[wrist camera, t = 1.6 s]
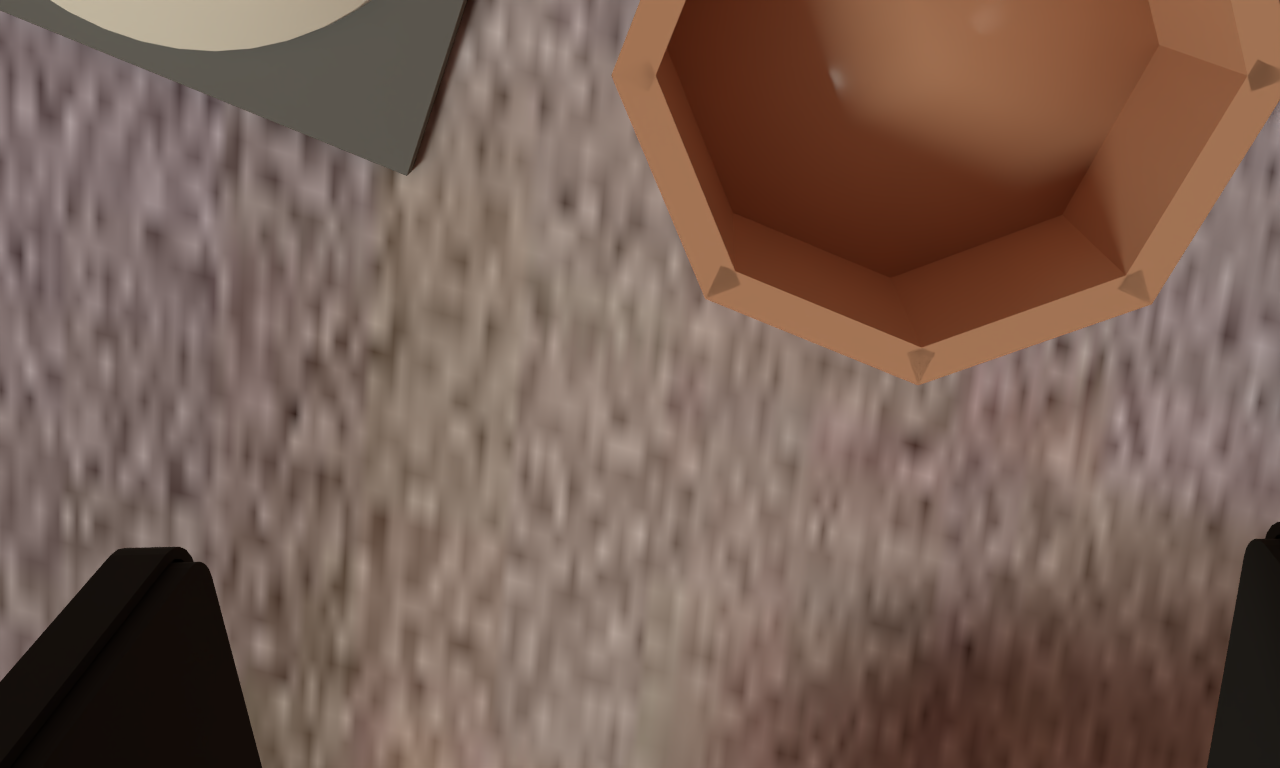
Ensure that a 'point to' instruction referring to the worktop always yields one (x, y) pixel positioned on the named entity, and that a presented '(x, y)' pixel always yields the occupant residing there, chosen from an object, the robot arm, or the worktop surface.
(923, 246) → the bowl
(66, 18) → the mat
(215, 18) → the lid
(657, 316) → the worktop surface
